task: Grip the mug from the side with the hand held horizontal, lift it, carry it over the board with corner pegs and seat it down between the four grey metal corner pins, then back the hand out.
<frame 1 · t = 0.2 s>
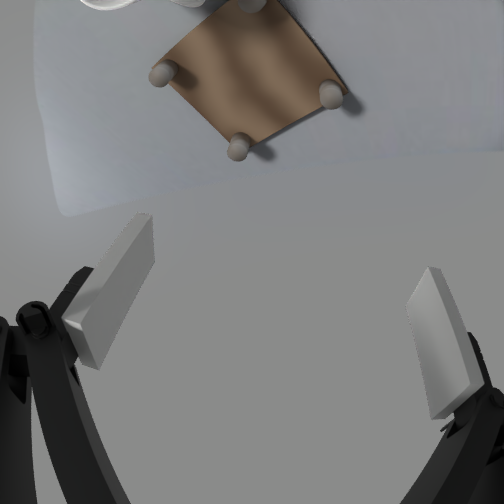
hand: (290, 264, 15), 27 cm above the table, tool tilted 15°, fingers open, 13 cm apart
board with corner pegs: (248, 71, 32), on the table
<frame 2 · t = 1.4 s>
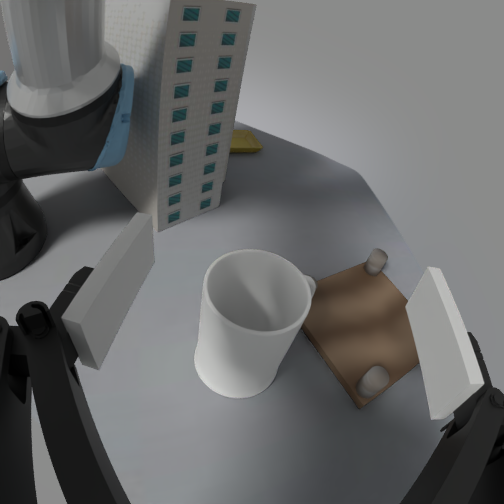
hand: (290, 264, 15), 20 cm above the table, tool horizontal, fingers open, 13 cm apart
building model: (168, 181, 52), on the table
mug: (249, 355, 33), on the table
yellow square slab: (235, 147, 66), on the table
board with corner pegs: (366, 325, 38), on the table
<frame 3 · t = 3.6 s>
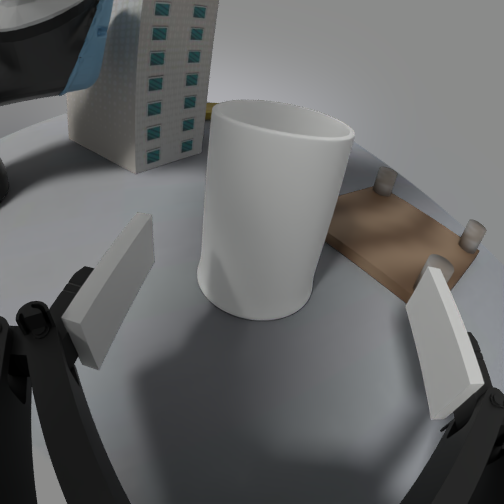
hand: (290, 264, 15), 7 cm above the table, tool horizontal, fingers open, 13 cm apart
building model: (142, 140, 45), on the table
mug: (271, 272, 25), on the table
yellow square slab: (208, 117, 61), on the table
board with corner pegs: (396, 238, 31), on the table
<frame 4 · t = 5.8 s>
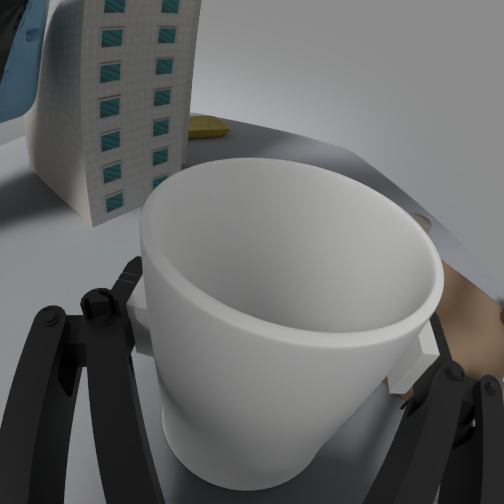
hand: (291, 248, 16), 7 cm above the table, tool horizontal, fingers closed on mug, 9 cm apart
building model: (111, 170, 37), on the table
mug: (268, 403, 16), on the table, touching gripper
yellow square slab: (197, 134, 52), on the table
board with corner pegs: (429, 320, 23), on the table
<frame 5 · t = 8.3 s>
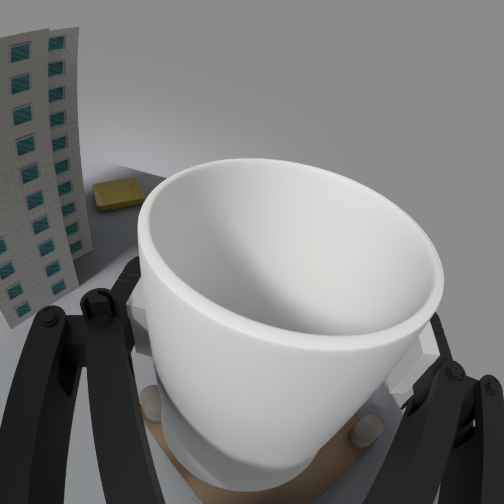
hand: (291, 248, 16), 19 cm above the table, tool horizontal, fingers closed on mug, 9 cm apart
building model: (33, 259, 39), on the table
mug: (268, 404, 16), point 12 cm above the table, touching gripper
yellow square slab: (118, 201, 54), on the table
board with corner pegs: (259, 435, 26), on the table
when the fingers open (9 cm above the table, at t = 10.8 s): mug drops 1 cm, resting on board with corner pegs.
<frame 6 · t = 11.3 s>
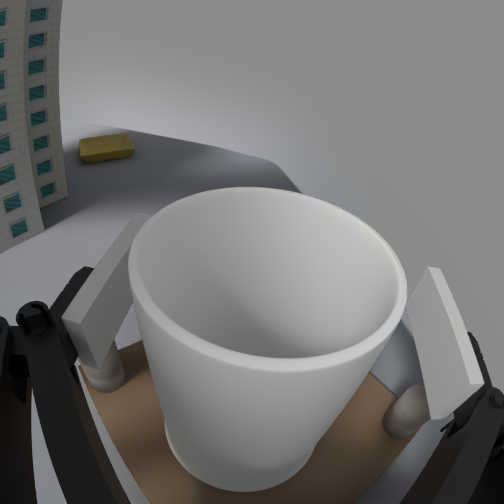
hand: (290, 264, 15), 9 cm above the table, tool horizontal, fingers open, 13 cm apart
building model: (3, 207, 32), on the table
mug: (264, 410, 17), point 1 cm above the table, touching board with corner pegs
yellow square slab: (106, 155, 47), on the table
board with corner pegs: (253, 418, 18), on the table
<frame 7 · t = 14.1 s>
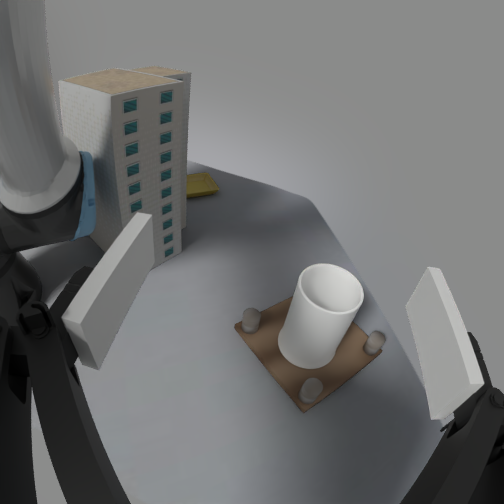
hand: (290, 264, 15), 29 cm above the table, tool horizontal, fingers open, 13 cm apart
building model: (137, 232, 60), on the table
mug: (314, 339, 46), point 1 cm above the table, touching board with corner pegs
yellow square slab: (195, 190, 75), on the table
board with corner pegs: (310, 343, 46), on the table
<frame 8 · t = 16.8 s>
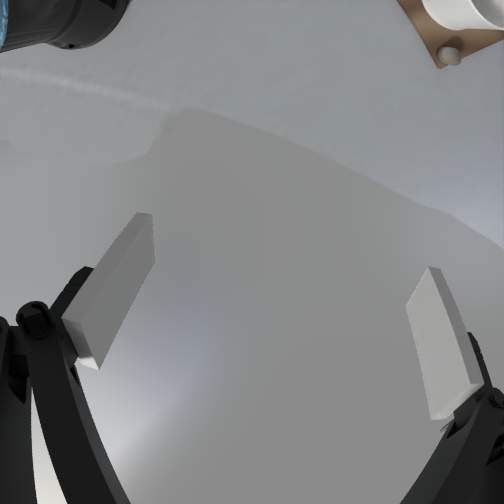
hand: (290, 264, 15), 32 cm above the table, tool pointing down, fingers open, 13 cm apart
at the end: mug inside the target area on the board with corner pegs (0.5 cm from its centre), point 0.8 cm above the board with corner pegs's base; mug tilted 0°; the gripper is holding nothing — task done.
